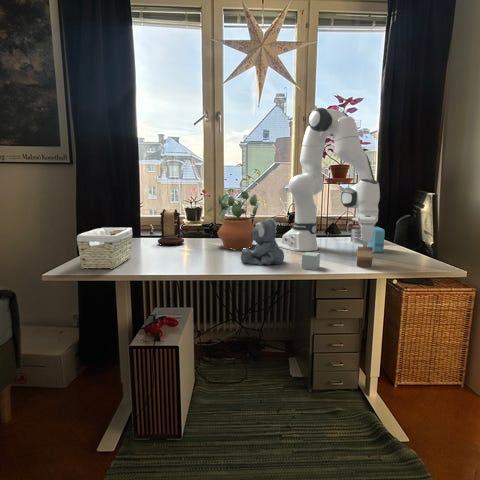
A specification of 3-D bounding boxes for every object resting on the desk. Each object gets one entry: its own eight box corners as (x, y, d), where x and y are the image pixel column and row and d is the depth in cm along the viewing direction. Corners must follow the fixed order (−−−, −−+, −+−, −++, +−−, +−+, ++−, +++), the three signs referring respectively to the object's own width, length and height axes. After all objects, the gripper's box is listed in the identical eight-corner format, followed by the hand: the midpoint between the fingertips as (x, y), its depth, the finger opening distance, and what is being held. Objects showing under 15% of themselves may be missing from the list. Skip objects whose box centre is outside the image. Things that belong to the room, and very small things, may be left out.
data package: (383, 253, 176) (385, 229, 174) (374, 253, 177) (375, 229, 175) (375, 248, 188) (377, 226, 186) (367, 248, 188) (368, 226, 186)
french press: (369, 244, 199) (372, 200, 195) (348, 244, 199) (351, 200, 195) (363, 241, 209) (366, 199, 204) (343, 241, 209) (346, 199, 205)
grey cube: (301, 268, 147) (302, 254, 146) (305, 265, 153) (306, 251, 152) (315, 270, 145) (316, 256, 144) (319, 267, 150) (320, 253, 149)
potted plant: (256, 251, 180) (257, 192, 175) (203, 250, 183) (201, 192, 177) (258, 243, 202) (259, 190, 197) (210, 242, 205) (210, 190, 200)
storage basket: (101, 257, 168) (99, 226, 165) (135, 257, 167) (133, 226, 164) (77, 270, 144) (74, 235, 141) (116, 270, 144) (114, 235, 141)
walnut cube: (357, 246, 151) (357, 256, 147) (372, 247, 150) (372, 257, 146) (356, 256, 155) (356, 266, 151) (371, 257, 154) (371, 267, 149)
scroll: (154, 246, 193) (152, 210, 190) (162, 241, 208) (161, 207, 204) (180, 247, 191) (178, 210, 188) (187, 242, 206) (186, 208, 202)
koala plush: (256, 256, 170) (256, 216, 167) (290, 260, 161) (292, 218, 158) (238, 263, 156) (238, 219, 152) (274, 268, 147) (275, 222, 143)
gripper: (358, 214, 161) (356, 244, 164) (359, 219, 142) (357, 253, 145) (373, 215, 159) (371, 244, 162) (376, 220, 140) (373, 254, 143)
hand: (364, 248), depth 153 cm, fingers closed
